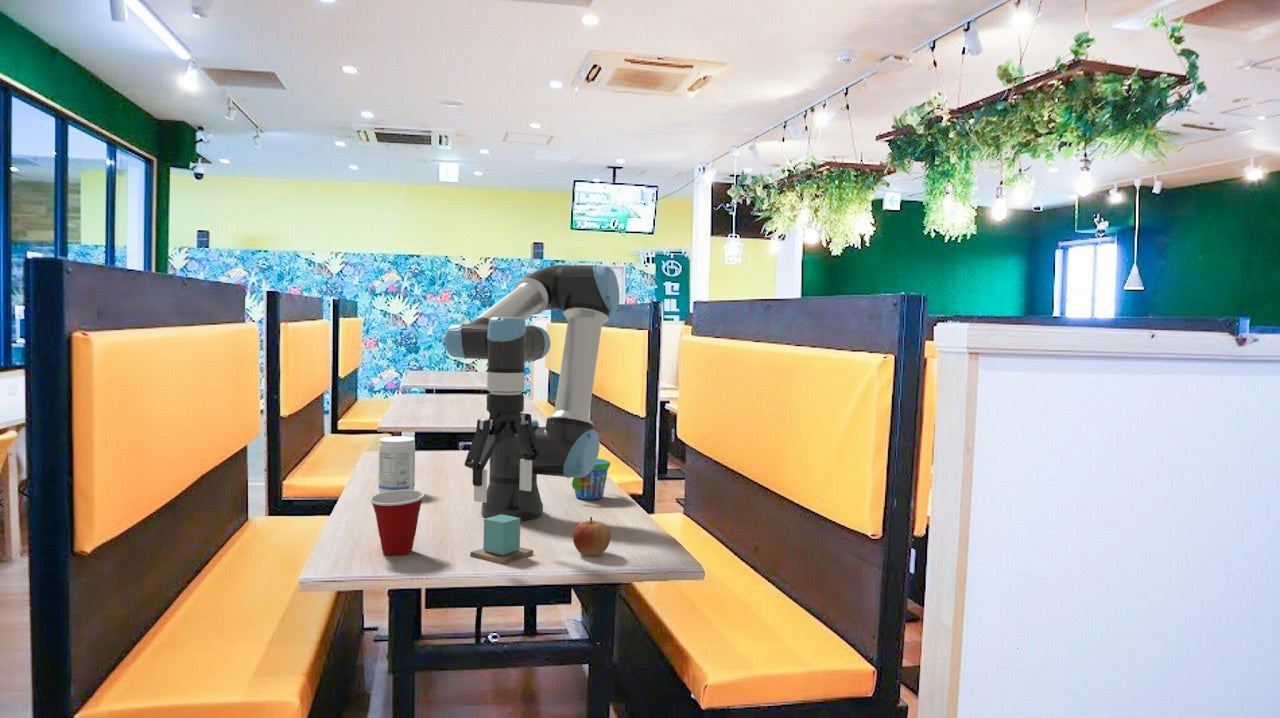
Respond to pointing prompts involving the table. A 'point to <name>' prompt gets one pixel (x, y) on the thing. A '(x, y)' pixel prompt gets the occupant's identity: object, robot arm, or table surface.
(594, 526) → the apple
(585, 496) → the snack cup
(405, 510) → the plastic cup
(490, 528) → the teal rectangular block
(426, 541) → the table surface
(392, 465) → the supplement tub
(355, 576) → the table surface
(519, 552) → the peg stand
